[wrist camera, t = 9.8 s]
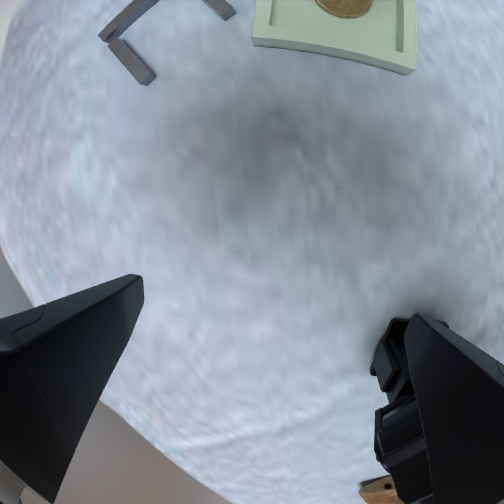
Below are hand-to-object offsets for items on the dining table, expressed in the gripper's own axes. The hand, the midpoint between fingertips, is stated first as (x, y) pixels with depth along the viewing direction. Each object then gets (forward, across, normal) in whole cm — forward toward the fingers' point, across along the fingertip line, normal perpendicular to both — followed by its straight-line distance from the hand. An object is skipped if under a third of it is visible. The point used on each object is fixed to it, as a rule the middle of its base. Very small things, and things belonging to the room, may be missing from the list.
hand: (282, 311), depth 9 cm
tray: (+14, -2, -17) cm, 22 cm away
